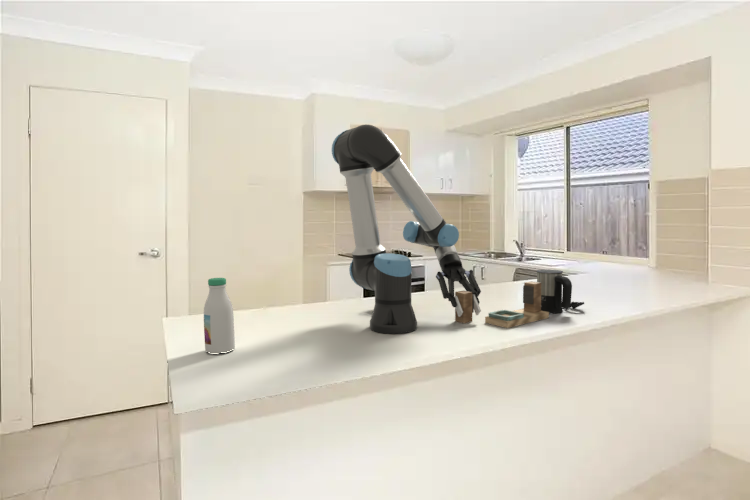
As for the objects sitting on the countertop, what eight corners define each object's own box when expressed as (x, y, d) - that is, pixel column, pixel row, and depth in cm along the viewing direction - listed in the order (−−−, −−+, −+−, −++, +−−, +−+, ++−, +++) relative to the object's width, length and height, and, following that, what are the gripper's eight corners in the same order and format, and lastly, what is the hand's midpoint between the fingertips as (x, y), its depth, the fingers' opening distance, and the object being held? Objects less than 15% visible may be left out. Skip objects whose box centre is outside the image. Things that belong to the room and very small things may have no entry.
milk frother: (530, 310, 168) (531, 270, 166) (551, 304, 178) (552, 266, 177) (568, 317, 157) (569, 274, 156) (588, 310, 168) (589, 270, 166)
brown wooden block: (463, 323, 151) (463, 293, 150) (455, 321, 154) (455, 291, 153) (473, 321, 153) (474, 292, 152) (465, 319, 157) (465, 290, 156)
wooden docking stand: (507, 328, 144) (507, 290, 143) (485, 322, 151) (485, 286, 150) (548, 317, 156) (549, 283, 155) (526, 313, 164) (527, 280, 163)
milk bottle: (238, 346, 129) (235, 276, 127) (230, 355, 121) (227, 280, 119) (210, 347, 128) (207, 276, 127) (201, 355, 121) (197, 281, 119)
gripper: (469, 264, 169) (491, 317, 155) (421, 267, 164) (440, 322, 150) (475, 251, 164) (499, 305, 149) (427, 253, 159) (446, 309, 144)
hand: (469, 313), depth 150 cm, fingers closed on brown wooden block, 6 cm apart
